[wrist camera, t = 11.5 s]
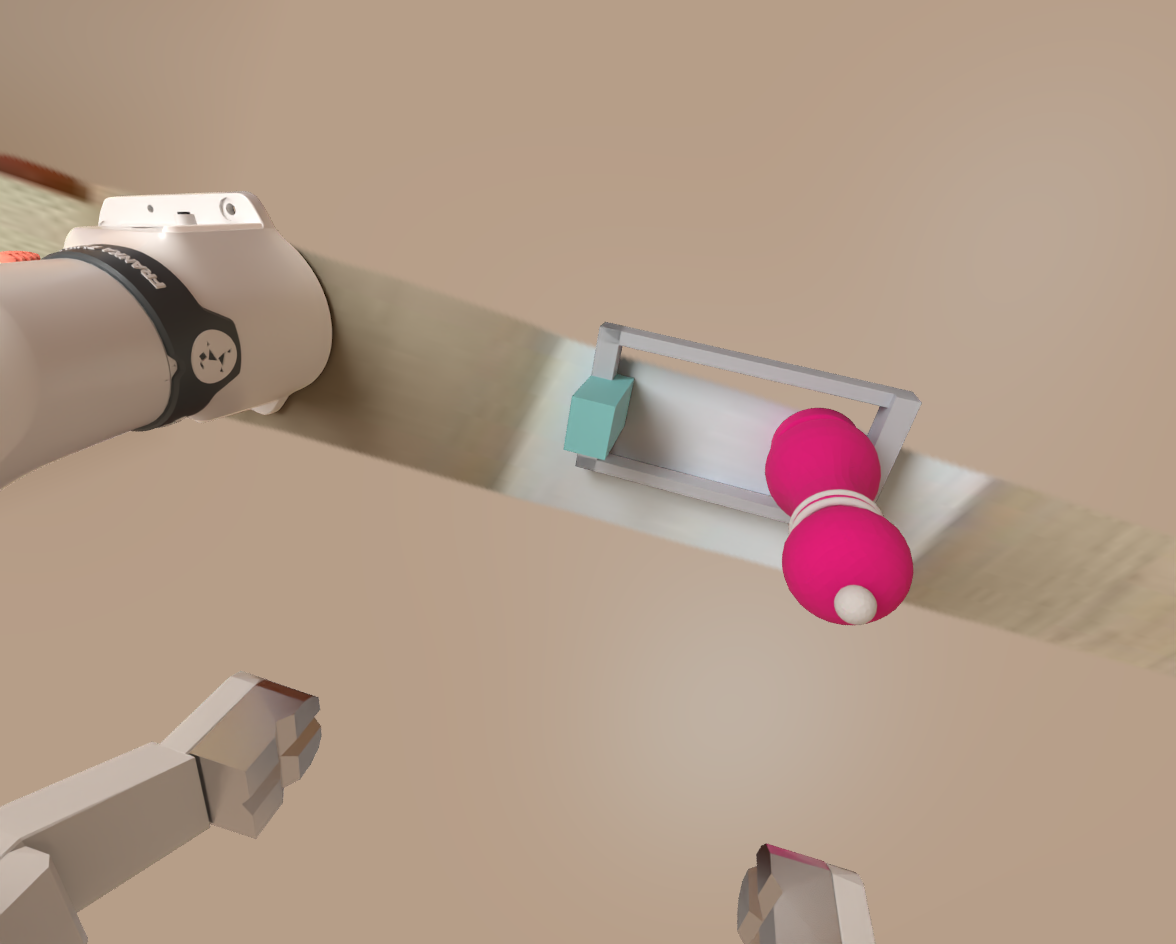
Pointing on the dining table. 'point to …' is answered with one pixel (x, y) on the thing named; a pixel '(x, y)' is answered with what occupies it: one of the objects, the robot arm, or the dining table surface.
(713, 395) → the dining table surface
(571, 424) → the grey rectangular frame
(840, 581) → the pepper mill
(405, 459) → the dining table surface
